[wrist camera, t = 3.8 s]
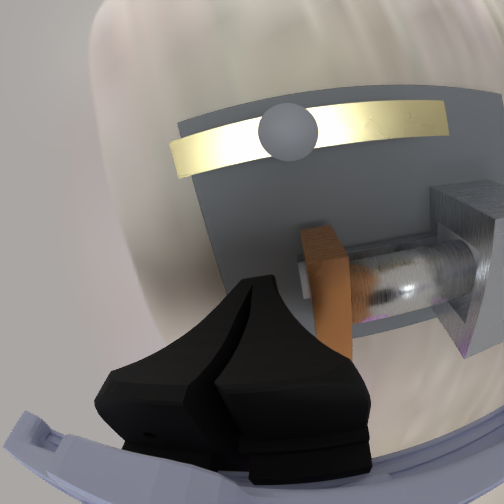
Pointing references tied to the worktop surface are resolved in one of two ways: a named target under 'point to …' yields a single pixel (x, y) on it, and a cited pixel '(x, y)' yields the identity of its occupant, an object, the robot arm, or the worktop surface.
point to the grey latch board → (337, 183)
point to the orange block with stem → (378, 283)
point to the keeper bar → (329, 125)
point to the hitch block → (483, 249)
